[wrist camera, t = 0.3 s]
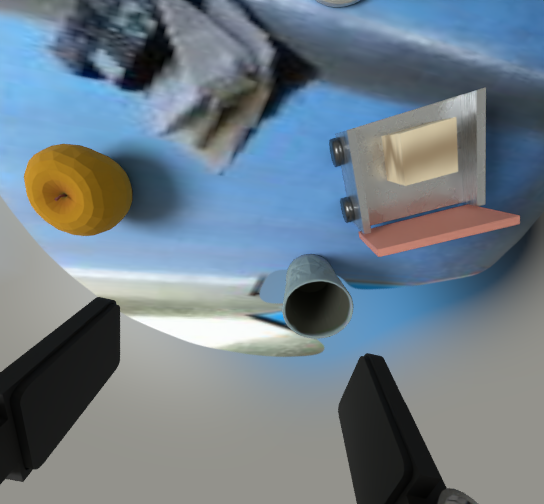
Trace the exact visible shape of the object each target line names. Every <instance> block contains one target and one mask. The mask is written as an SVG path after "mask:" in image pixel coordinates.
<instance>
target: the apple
mask: <svg viewBox="0 0 544 504" xmlns="http://www.w3.org/2000/svg"><path fill="white" fill-rule="evenodd" d="M24 180H25V186H26V192H27V196H28V199H29V201H30V203H31V206H32V207H33V208H34V210H35V211H36V212H37V213H38V214H39V215H40V216H41V217H42V218H43V219H44V220H45V221H46V222H48V223H49V224H51V225H52V226H54V227H55V228H57V229H58V230H61V231H64V232H67V233H70V234H73V235H81V236H90V235H96V234H99V233H101V232H104V231H107V230H110V229H111V228H113V227H114V226H116V225H117V224H118V223H119V222H120V221H121V220H122V219H123V218H124V217H125V215H126V214H127V213H128V211H129V209H130V207H131V203H132V200H133V199H132V187H131V183H130V180H129V178H128V176H127V174H126V172H125V171H124V170H123V169H122V167H121V166H120V165H119V164H118V163H116V162H115V161H114V160H112V159H111V158H110V157H108V156H105V155H103V154H101V153H99V152H96V151H94V150H92V149H90V148H87V147H84V146H80V145H71V144H60V145H54V146H50V147H48V148H46V149H44V150H42V151H40V152H38V153H37V154H35V155H34V156H33V157H32V158H31V159H30V160H29V162H28V165H27V168H26V171H25V174H24Z"/></svg>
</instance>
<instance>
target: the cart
mask: <svg viewBox="0 0 544 504" xmlns="http://www.w3.org/2000/svg"><path fill="white" fill-rule="evenodd" d="M453 117H456V120H457V151H458V172H455V173H451V174H448V175H444V176H440V177H437V178H433V179H429V180H426V181H422V182H418V183H414V184H411V185H407V186H404V185H401V184H397V183H394V182H391V181H387V175H386V167H385V159H384V151H383V143H382V136H384V135H388V134H391V133H394V132H398V131H401V130H404V129H408V128H411V127H414V126H417V125H421V124H424V123H427V122H432V121H437V120H443V119H448V118H453ZM335 136H336V138H333V139H330V141H329V146H330V153H331V158H332V161H333V164H334V166H335V167H337V166H341V169H342V174H343V180H344V185H345V191H346V196H347V197H345V198H341V200H340V203H341V209H342V214H343V217H344V220H345V222H346V223H348V222H353V223H354V224H355V225H356V226H357V227H358V228H359V229H360V230H361V231H362V233H363V234H368V233H371V227H370V226H371V225H375V224H379V223H383V222H387V221H391V220H394V219H398V218H402V217H406V216H410V215H414V214H418V213H422V212H426V211H430V210H434V209H438V208H442V207H446V206H450V205H454V204H458V203H462V202H464V203H468V204H471V205H475V206H481V205H485V173H486V88H482V89H479V90H476V91H473V92H470V93H466V94H463V95H460V96H457V97H453V98H450V99H447V100H444V101H441V102H437V103H434V104H431V105H428V106H424V107H421V108H418V109H415V110H411V111H408V112H405V113H402V114H399V115H395V116H392V117H389V118H386V119H382V120H379V121H376V122H373V123H369V124H366V125H363V126H360V127H357V128H353V129H350V130H347V131H344V132H340V133H337V134H335Z"/></svg>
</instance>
